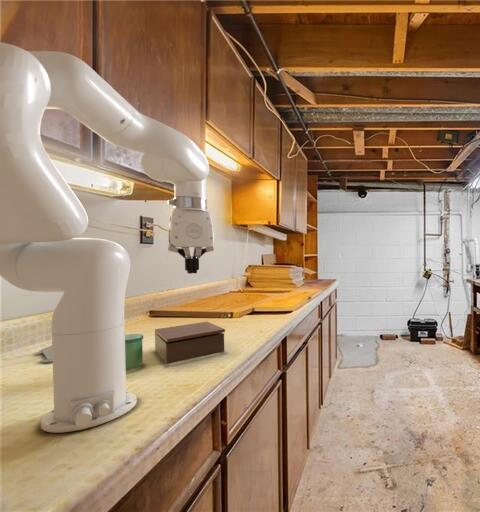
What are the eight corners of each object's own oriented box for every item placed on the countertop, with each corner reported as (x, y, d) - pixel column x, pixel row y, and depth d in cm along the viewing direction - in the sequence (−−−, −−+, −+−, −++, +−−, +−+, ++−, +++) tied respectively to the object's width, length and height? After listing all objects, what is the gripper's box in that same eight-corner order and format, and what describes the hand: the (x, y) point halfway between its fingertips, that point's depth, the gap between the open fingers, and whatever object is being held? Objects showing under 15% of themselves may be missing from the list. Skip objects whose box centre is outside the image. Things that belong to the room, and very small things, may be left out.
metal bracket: (96, 323, 100) (108, 330, 91) (103, 339, 101) (116, 348, 92) (32, 346, 89) (38, 358, 80) (41, 364, 90) (48, 377, 81)
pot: (145, 369, 77) (145, 337, 77) (111, 376, 73) (110, 342, 73) (141, 362, 82) (141, 332, 82) (109, 369, 77) (108, 336, 77)
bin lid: (225, 332, 88) (225, 329, 88) (166, 342, 78) (166, 339, 78) (207, 323, 99) (207, 321, 99) (154, 332, 90) (154, 329, 90)
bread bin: (224, 354, 88) (224, 333, 88) (166, 366, 79) (166, 344, 79) (207, 342, 99) (207, 324, 99) (155, 352, 90) (154, 332, 90)
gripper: (160, 201, 77) (161, 275, 78) (225, 207, 88) (226, 272, 88) (154, 204, 82) (156, 274, 83) (216, 209, 93) (217, 271, 93)
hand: (192, 273), depth 86 cm, fingers closed
